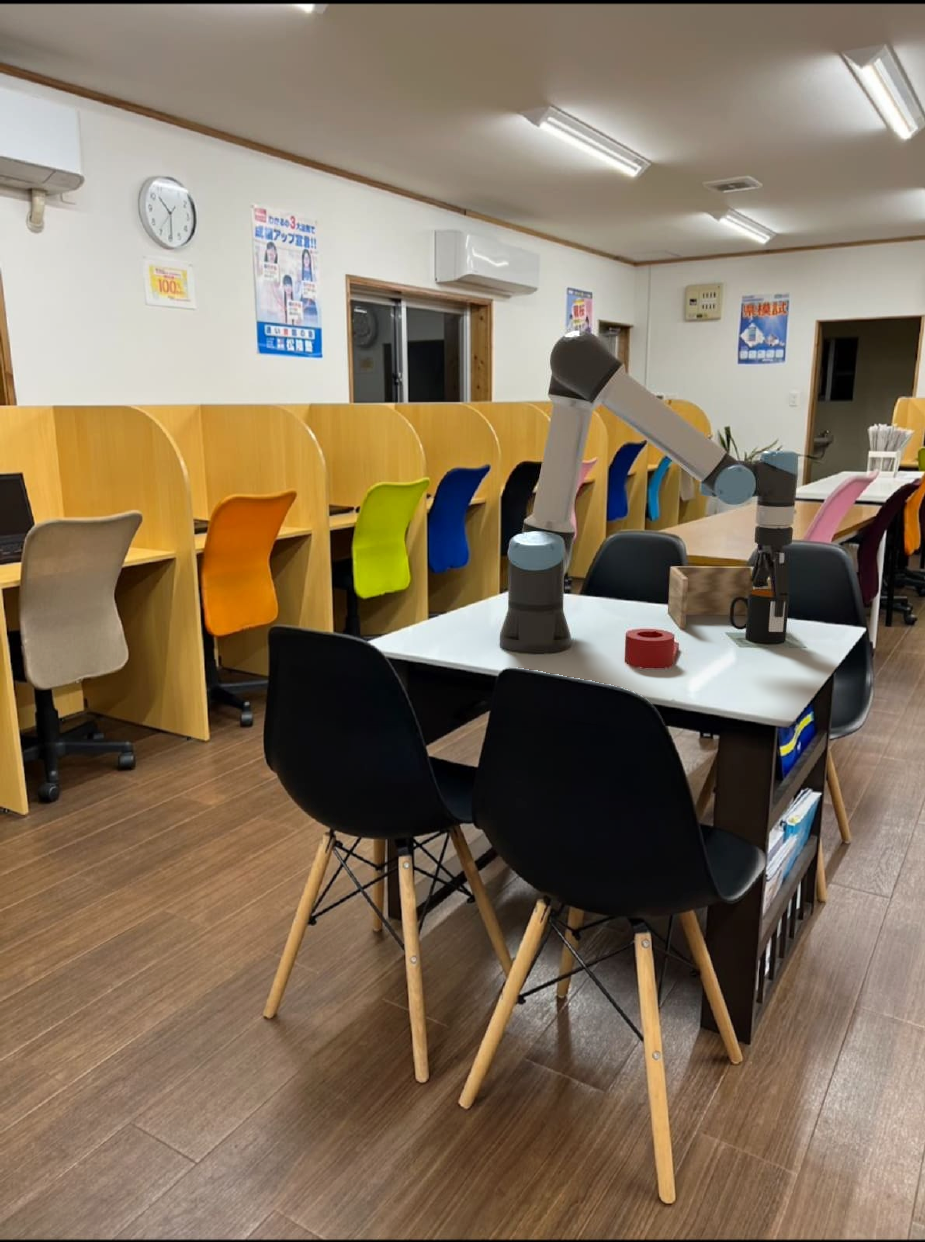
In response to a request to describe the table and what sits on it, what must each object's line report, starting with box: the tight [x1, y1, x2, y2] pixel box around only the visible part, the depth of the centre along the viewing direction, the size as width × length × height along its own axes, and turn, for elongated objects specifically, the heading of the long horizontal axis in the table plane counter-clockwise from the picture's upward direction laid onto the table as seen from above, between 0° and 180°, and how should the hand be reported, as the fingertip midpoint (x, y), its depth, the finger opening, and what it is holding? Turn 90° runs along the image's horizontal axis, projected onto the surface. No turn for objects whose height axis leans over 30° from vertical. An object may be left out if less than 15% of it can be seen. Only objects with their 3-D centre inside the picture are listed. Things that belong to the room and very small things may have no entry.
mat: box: [725, 631, 808, 649], centre depth 193 cm, size 14×12×1 cm
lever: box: [624, 628, 680, 670], centre depth 179 cm, size 18×9×7 cm, turn 146°
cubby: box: [667, 565, 771, 630], centre depth 209 cm, size 20×16×12 cm
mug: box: [729, 589, 790, 645], centre depth 193 cm, size 8×12×10 cm
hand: (766, 623), depth 192 cm, fingers open, 13 cm apart
